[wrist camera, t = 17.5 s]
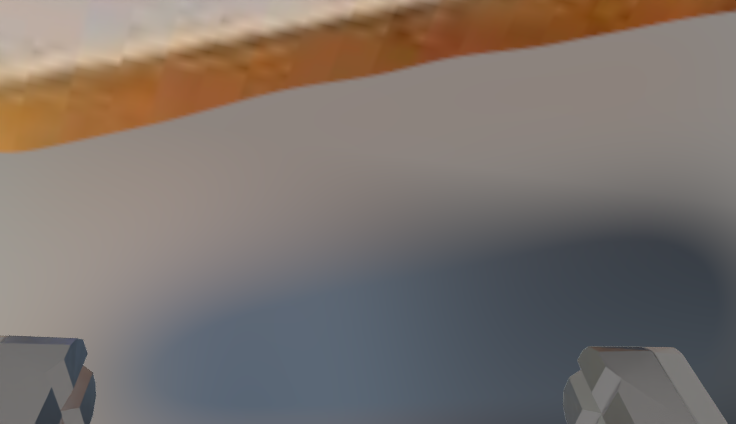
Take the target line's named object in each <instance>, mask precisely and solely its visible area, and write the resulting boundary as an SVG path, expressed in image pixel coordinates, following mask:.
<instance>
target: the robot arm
mask: <svg viewBox="0 0 736 424" xmlns="http://www.w3.org/2000/svg"><path fill="white" fill-rule="evenodd" d="M86 357H87V350H86V347H85V344H84V341H83V340H82V339H77V338H53V337H31V336H0V424H90V422H91V419H92V416H93V411H94V405H95V399H96V385H95V379H94V375H93V372H92V371H90V370H89V369H87V368H86V367H85V366H83V364H84V361H85V359H86ZM578 363H579V366H580V368H581V370H580V371H578V372H577V373H575V374H574V375H572V376H571V377H569V379H568V381H567V384H566V386H565V388H564V396H563V408H564V412H565V418H566V421H567V424H728V423H727V422H726V420H725V419H724V417H723V416H722V414H721V413H720V411H719V410H718V408H717V406H716V405H715V403H714V402H713V401H712V399H711V397H710V396H709V394H708V393H707V391H706V390H705V388H704V387H703V385H702V384H701V382H700V381H699V379H698V377H697V376H696V374H695V373H694V371H693V370H692V368H691V367H690V365H689V364H688V362H687V361H686V359H685V358H684V356H683V355H682V354H681V353H680V352H679V351H678V350H676V349H675V348H672V347H671V348H670V347H629V346H624V347H623V346H621V347H620V346H618V347H617V346H607V347H606V346H589V347H587V348H586V349H584V350H583V351H582V352H581V354H580V356H579V358H578Z"/></svg>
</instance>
